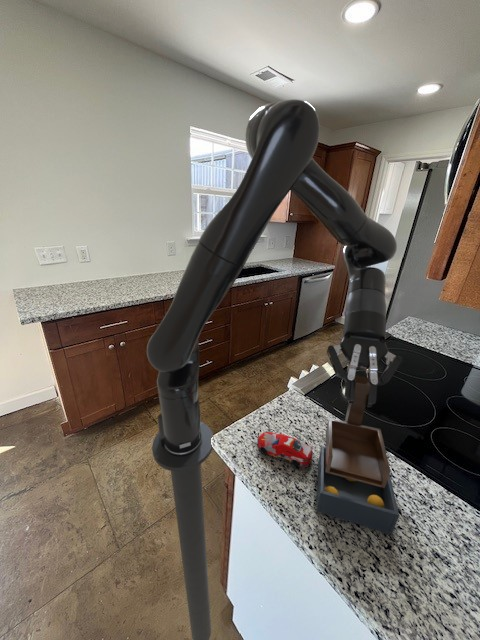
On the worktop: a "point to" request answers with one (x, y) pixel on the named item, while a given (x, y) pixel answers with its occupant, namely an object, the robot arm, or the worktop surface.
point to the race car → (285, 448)
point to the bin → (355, 500)
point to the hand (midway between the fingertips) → (359, 404)
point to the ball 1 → (331, 490)
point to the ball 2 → (375, 501)
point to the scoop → (356, 443)
